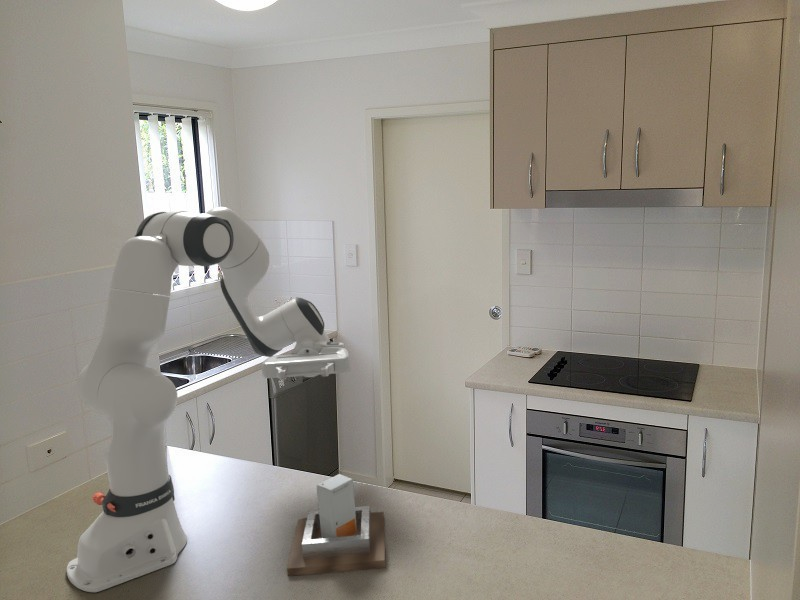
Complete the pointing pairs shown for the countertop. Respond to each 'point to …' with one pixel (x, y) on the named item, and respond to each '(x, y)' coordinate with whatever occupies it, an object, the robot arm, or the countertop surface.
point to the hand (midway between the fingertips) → (303, 374)
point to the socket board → (338, 545)
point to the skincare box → (337, 507)
